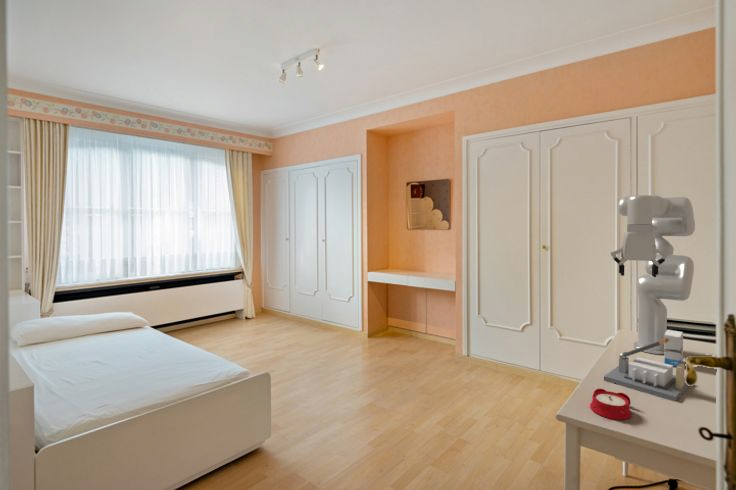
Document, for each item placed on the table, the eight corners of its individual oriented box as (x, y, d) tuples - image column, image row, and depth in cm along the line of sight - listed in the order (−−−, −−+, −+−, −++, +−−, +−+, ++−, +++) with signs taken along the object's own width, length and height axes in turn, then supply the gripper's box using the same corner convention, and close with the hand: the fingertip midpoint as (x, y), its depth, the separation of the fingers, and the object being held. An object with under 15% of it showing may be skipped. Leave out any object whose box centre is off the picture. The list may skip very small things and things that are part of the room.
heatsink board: (623, 366, 144) (623, 344, 143) (691, 384, 128) (692, 359, 127) (603, 380, 133) (604, 356, 132) (675, 401, 117) (676, 374, 116)
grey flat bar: (621, 359, 134) (618, 355, 135) (625, 356, 137) (622, 352, 137) (667, 343, 123) (663, 339, 124) (670, 341, 126) (667, 336, 126)
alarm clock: (588, 404, 110) (592, 374, 122) (588, 422, 112) (593, 391, 124) (631, 414, 104) (632, 382, 116) (631, 432, 106) (632, 399, 117)
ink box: (680, 368, 140) (681, 337, 139) (663, 364, 144) (663, 334, 143) (683, 361, 146) (684, 331, 145) (666, 358, 150) (667, 329, 149)
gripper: (665, 229, 138) (664, 275, 139) (609, 229, 145) (608, 273, 146) (671, 229, 131) (670, 278, 132) (613, 229, 138) (611, 276, 140)
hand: (637, 275), depth 139 cm, fingers open, 9 cm apart
